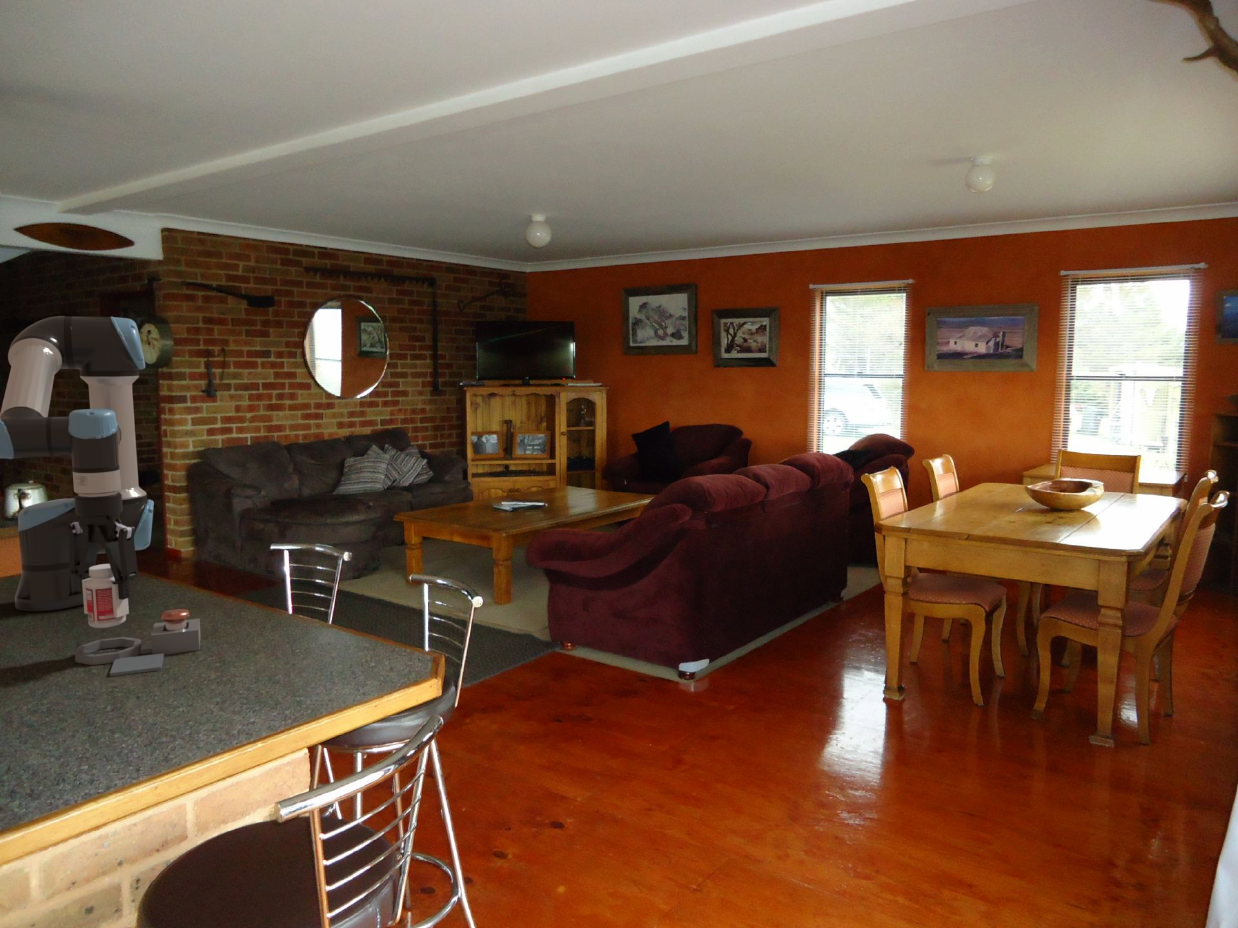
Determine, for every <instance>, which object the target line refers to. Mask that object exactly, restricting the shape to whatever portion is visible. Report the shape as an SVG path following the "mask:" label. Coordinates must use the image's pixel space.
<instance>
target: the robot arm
mask: <svg viewBox="0 0 1238 928" xmlns="http://www.w3.org/2000/svg"><path fill="white" fill-rule="evenodd" d="M7 359H8V363H9V365H10V366H11V367H10V372H9V376H8V380H7V383H6V388H5V392H4V396H3V397H4V398H3V400H2V406H1V409H0V459H8V460H13V459H24V458H27V459H28V458H46V457H48V458H49V457H71V464H72V468H71V470H72V478H73V480H72V481H73V492H74V493H75V494H77V495H75V497H69V498H57V499H54V500H53V499H52V500H48V501H42V502H37V503H35V504H30V505H28V506H25V507H24V508H22V509H20V511H19V513H18V517H17V521H18V522H17V523H18V524H17V525H18V528H17V532H18V536H19V537H18V538H19V550H20V562H21V576H20V579H19V582H18V585H17V589H16V592H15V596H14V606H15V609H16V610H19V611H22V612H23V611H24V612H48V611H56V610H65V609H70V608H73V607H78V606H81V605H83V612H84V614H85V615H88V613H87V600H86V588H85V584H86V582H87V581H88V580H89V579H90V578H91V576H89V568H90V567H92V566H96V564H97V558H98V554H105V555H106V558H107V561H108V564H110V567H111V570H112V573H113V576H114V579H115V581H114V582H112V598H113V611H114V617H115V618H118V617H121V616H123V615H126V616H127V615H129V614H130V613H129V612H130V609H129V598H130V596H131V593H130V581H131V580H134V579H136V578H138V577H139V570H138V569H139V568H138V561H137V555H136V554H137V553H136V551H142V550H146V549H147V548H148V547H150V544H151V540H152V539H151V538H152V528H153V518H154V505H155V502H154V501H153V500H152V499H148V497H147V492H146V491H145V490H143V489H142V488H141V487H140V485H139V473H138V471H139V469H138V457H137V456H138V455H137V442H136V430H135V426H136V425H135V412H134V411H135V410H134V409H135V408H134V398H133V396H134V395H133V383H135V382H136V381H137V380H138V379H139V377H140V372H139V370H140V371H142V370H144V369H145V368H146V361H145V357H144V350H143V345H142V341H141V337H140V332H139V329H138V326H137V323H136V322H135V320H133V319H131V318H127V317H117V316H116V317H114V316H107V317H106V316H67V315H57V316H56V315H55V316H50V317H47V318H43V319H41V320H38V321H36V322H34V323H33V324H31V325H29V326H27V327H26V328H24V329H23V330H21V332H20V333H19V334H17V335H16V336H15V338H14V339H13V340H12V342H11V344H10V346H9V349H8V354H7ZM68 369H69V370H79V377H80V378H81V380H83V381H84V382H85V383H86V384H87V385H88V393H89V394H88V396H89V398H88V399H89V408H87V409H75V410H72V411H70V413H69V415H68V416H49V411H50V404H51V398H52V392H53V384H54V379H55V375H56V374H57V373H58V372H59V371H60V370H68Z"/></svg>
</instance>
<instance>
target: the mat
mask: <svg viewBox="0 0 1238 928" xmlns="http://www.w3.org/2000/svg"><path fill="white" fill-rule="evenodd" d="M164 658H165V654H164V653H160V654H142V655H137V656H134V657H126V658H120V659H115V660H114V663H112V666H111V669H110V672H109V677H116V676H117V677H118V676H125V675H133V674H142V673H148V672H155V671H156V672H157V671H162V667H163V663H164Z"/></svg>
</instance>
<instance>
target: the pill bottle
mask: <svg viewBox="0 0 1238 928" xmlns="http://www.w3.org/2000/svg"><path fill="white" fill-rule="evenodd" d="M89 576H91V578H90V579H89V580H88V581H87V582H86V584H85V588H86V600H87V613H88V614H87V622H88V625H89V626H90V627H92V628H95V629H99V628H100V629H104V628H105V629H106V628H112V627H116V626H119V625H121V624H123V623H124V622H125V621H126V619H127V614H126V615H123V616H121V617H118V618H115V617H114V611H113V598H112V582H114V581H115V579H114V576H113V573H112V570H111V567H110V564H109V563H102V564H97V565H96V564H95V566H92V567H90V568H89Z"/></svg>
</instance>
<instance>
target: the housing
mask: <svg viewBox="0 0 1238 928" xmlns="http://www.w3.org/2000/svg"><path fill="white" fill-rule="evenodd" d="M200 621H201V619H200V618H191V619H186V626H187V629H180V630H171V631H166V625H165V621H163V622H156V623H153V627H152V631H151V635H150V636H151V637H150V639H151V642H145V643H142V639H139V638H133V637H130V636H129V637H127V636H121V637H112V638H111V637H109V638H102V639H97V640H94V641H91V642H88V643H86V644H82V645H79V646H78V647H77V649H76V650H75V652H74V658H75V659H74V661H75V663H78V664H85V665H90V666H96V665H102V664H103V665H104V664H113V663H114V660H115V659H120V658H126V657H135V656H140V655H146V654H151V653H152V654H160V653H164V655H171V654H172V655H173V654H180V653H189V652H195V651H200V648H201V639H202V636H201V622H200ZM121 647H122V648H123V647H124V649H122V650H118V651H115V652H107V653H97V654H93V653H94V652H96V651H100V650H104V649H112V648H121ZM152 654H151V655H152Z"/></svg>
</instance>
